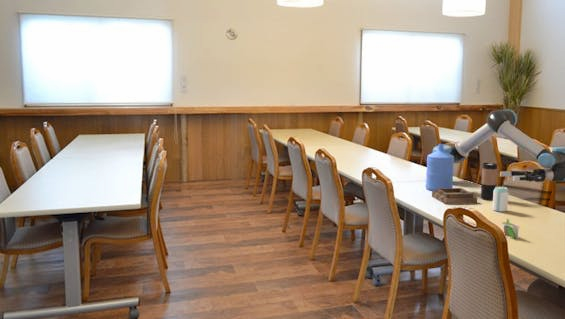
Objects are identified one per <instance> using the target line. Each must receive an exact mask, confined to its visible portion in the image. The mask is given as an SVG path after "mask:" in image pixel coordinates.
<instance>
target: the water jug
mask: <svg viewBox="0 0 565 319" xmlns="http://www.w3.org/2000/svg"><path fill="white" fill-rule="evenodd" d="M437 144H438V145H437V146H438V151H436V152H434V153H430V154H428V155H427V156H426V157H427V158H426V178H425V179H426V180H425V183H426V184H425V190H428V191H430V192H435V191H436V189H442V188H454V187H453V182H454V181H453V178H454V165H455V164H454V156H452V155H450V154H449V153H447V152H445V151H444V150H443V149H444V147H443V146H444V145H445V144H444V143H437Z"/></svg>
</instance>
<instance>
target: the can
mask: <svg viewBox="0 0 565 319" xmlns="http://www.w3.org/2000/svg"><path fill="white" fill-rule="evenodd" d="M508 204H509V190H508V187H505V186H496V187H495V189H494V191H493V200H492V208H491V209H492V211H494V212H498V213H505V212H506V211H508V207H509V206H508Z"/></svg>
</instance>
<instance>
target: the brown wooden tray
mask: <svg viewBox="0 0 565 319" xmlns="http://www.w3.org/2000/svg"><path fill="white" fill-rule="evenodd" d="M431 197H432V198H434V199H435V200H437V201H439V202H441V203H442V204H444V205H462V204H467V205H469V204H477V203H478V197H477V196H474V193H473V192H470V191H468V190H466V189H464V188H463V187H453V188H442V189H436V191H431Z"/></svg>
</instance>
